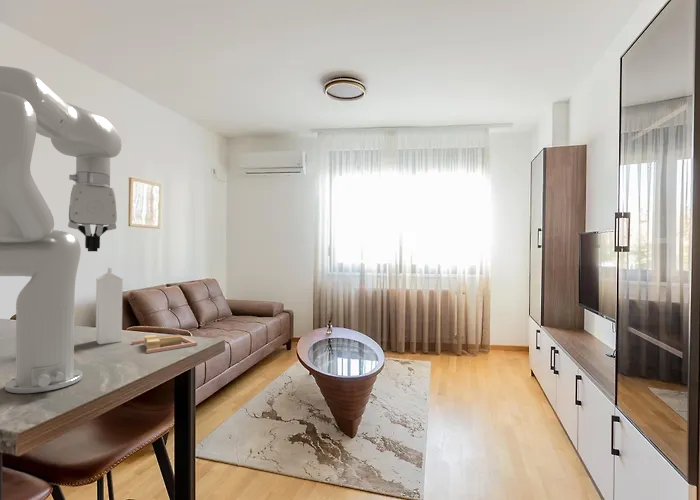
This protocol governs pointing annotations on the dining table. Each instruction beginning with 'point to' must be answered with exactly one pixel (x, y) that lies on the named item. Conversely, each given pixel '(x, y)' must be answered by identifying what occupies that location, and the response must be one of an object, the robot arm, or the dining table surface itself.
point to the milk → (108, 308)
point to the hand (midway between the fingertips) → (92, 251)
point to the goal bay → (189, 343)
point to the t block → (161, 341)
